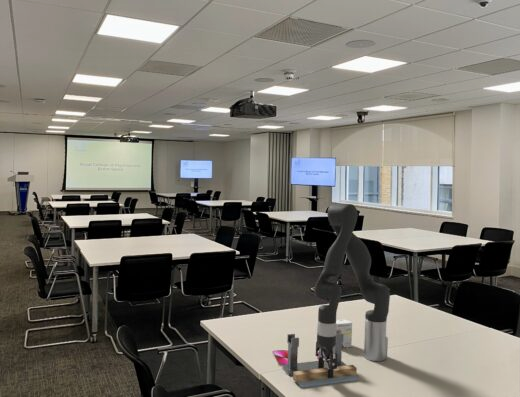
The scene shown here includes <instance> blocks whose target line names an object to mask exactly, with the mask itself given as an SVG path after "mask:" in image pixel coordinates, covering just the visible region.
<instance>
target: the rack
mask: <svg viewBox="0 0 520 397" xmlns="http://www.w3.org/2000/svg"><path fill="white" fill-rule="evenodd" d="M338 332H339V330H337V331H336V345H335V346H334V347H333V353H337V367H338V366H346V365H347V364H346V363H345V362H344V361H343V360H342V357H343V356H342V354H343V352H342V351H343V348H342V342H343V335H344V334H343V333H342V334H338ZM286 343H287V344H288V345H287V351H288V364H286V365H282V366H281V368H282V369H283V371H284V372H285V373H286V375H287V376H289V377H290V376H293V372H295V371H303V370H312V369H318V360H316V361H315V360H313V361H305V362H298V353H299V351H298V350H299V347H300V338H299V337H296V334H295V333H289V334H287V338H286ZM323 360H324V368H328V367H327V363H325V359H323ZM329 365H330V363H329Z"/></svg>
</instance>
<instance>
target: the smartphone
mask: <svg viewBox="0 0 520 397" xmlns="http://www.w3.org/2000/svg"><path fill="white" fill-rule="evenodd" d="M272 356H273V357H274V359H275V362H276V364H277V365H278V366H279V367H282V365H286V364H288V349H287V350H286V349H285V350H282V349H281V350H279V349H277V350H272Z"/></svg>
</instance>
